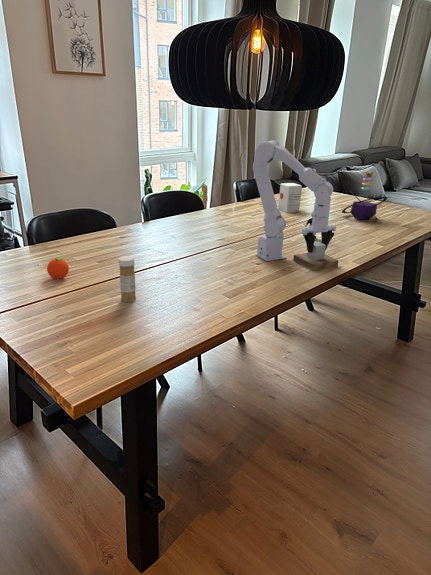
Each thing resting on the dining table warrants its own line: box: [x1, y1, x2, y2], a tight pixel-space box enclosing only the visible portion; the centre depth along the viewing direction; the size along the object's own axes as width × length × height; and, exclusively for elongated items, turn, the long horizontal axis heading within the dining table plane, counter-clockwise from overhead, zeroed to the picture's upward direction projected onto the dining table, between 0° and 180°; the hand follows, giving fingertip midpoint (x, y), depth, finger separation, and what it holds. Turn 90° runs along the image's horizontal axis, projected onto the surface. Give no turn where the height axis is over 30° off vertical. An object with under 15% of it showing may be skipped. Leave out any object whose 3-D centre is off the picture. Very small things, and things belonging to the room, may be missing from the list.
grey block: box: [307, 241, 326, 260], centre depth 169 cm, size 4×4×6 cm
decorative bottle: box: [341, 171, 388, 222], centre depth 235 cm, size 22×21×25 cm
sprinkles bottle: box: [118, 255, 137, 303], centre depth 133 cm, size 5×5×13 cm
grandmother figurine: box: [304, 210, 317, 236], centre depth 201 cm, size 8×4×13 cm, turn 105°
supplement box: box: [277, 182, 303, 214], centre depth 251 cm, size 9×9×15 cm
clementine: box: [46, 257, 70, 280], centre depth 149 cm, size 8×7×7 cm
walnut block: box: [292, 252, 339, 272], centre depth 171 cm, size 12×12×3 cm
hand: (316, 250), depth 169 cm, fingers open, 6 cm apart
